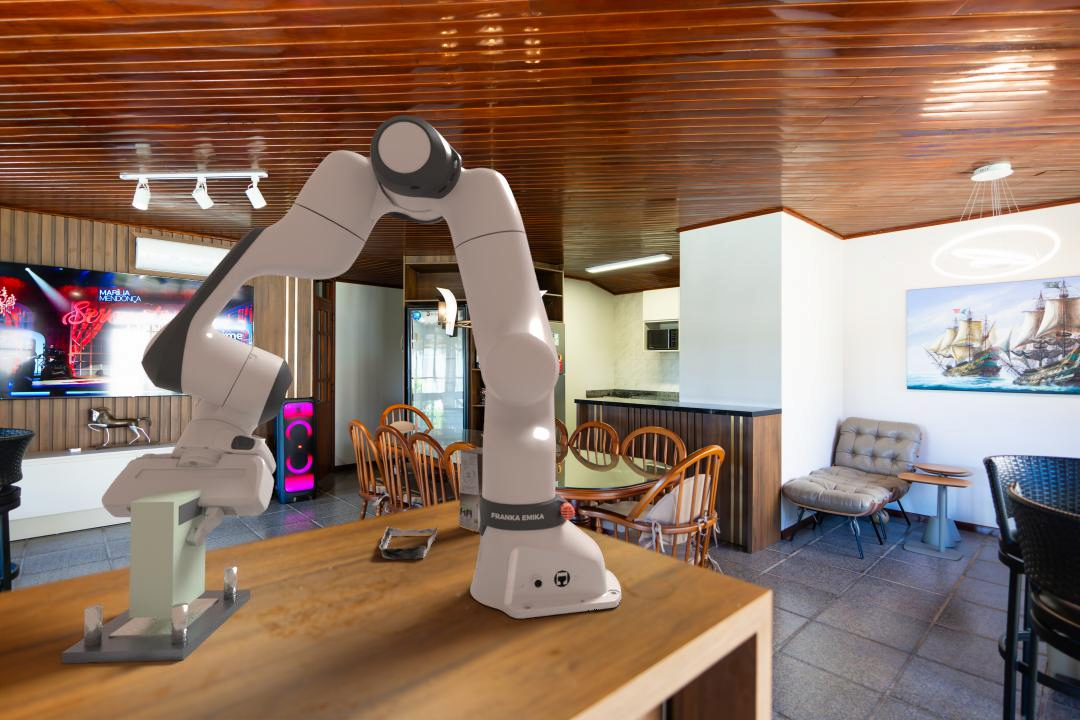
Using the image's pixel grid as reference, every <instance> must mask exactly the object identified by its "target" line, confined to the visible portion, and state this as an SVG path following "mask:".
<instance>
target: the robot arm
mask: <svg viewBox="0 0 1080 720" xmlns="http://www.w3.org/2000/svg"><path fill="white" fill-rule="evenodd" d="M462 161H463V160H462V157H461V155H460V154H459V153H458V152H457V151H456V150H455V149H454V148H453V147H452V146H451V145H450V143H448V141H447V139H445V138H444V137H443V135H441V133H440V132H439V131H438V130H437V129H436V128H435V127H433V125H431V124H430V123H429V122H428V121H425V120H424V119H422V118H421V117H417V116H415V115H411V114H399V115H395V116H393V117H390V118H388V119H386V120H384V121H383V122H382V123H381V124H380V125H379V126H378V127H377V128H376V129H375V131H374V133H373V136H372V138H371V142H370V145H369V157H365V156H363V155H362V154H359V153H357V152H354V151H351V150H343V149H342V150H341V149H340V150H335V151H331V152H330V153H329V154H328V155H327V156H325V157H324V159H323V160H322V161H321V162H320V163H319V165H318V166H317V167H316V169H314V171H313V172H312V174H311V175H310V176H309V178H308V179H307V180H306V182H305V184H304V185H303V187H302V188H301V190H300V192H299V193H298V194H297V197H296V199H295V201H294V202H293V204H292V206H291V208H290V209H289V211H288V212H287V213H286V214H285V215H284V216H283V217H282V218H281V219H279V220H278V221H277V222H275V223H274V224H271V225H269V226H267V227H266V226H255V227H254V228H252V229H250V230H248V231H247V232H246V233H245V234H244V235H243V236H242V237H241V238H240V239H239V240H238V241H237V242H236V243H235V245H234V246H233V247H232V248H231V249H230V250H229V251H228V252H227V253H226V255H225V256H224V257H223V259H221V261H220V262H219V263H218V264H217V266H215V268H214V269H213V270H212V272H211V273H210V274H209V275H208V276H207V277H206V278H205V280H204V281H203V282H202V283H201V285H200V286H199V287H198V288H197V290H195V292H194V293H193V294H192V295H191V297H190V298H189V299H188V300H187V302H186V303H185V304H184V306H183V307H182V308H181V309H180V310H179V312H177V313H176V315H175V316H174V317H173V318H172V319H171V320H169V322H167V323H166V324H165V325H164V326H162V328H160V329H159V330H158V331H157V332H156V333H155V334H154V335H153V336H152V338H151V339H150V340H149V342H148V344H147V345H146V347H145V349H144V352H143V355H142V359H141V366H142V368H143V370H144V373H145V374H146V376H147V377H148V379H149V380H150V382H151V383H152V384H153V385H154V387H156V388H157V389H158V388H159V389H163V390H166V391H170V392H174V393H177V394H181V395H183V394H184V395H185V394H186V395H188V396H191V397H194V398H196V399H199V400H200V401H199V403H198V404H197V408H196V413H195V416H194V417H193V418H192V419H191V420H190V421H189V422H188V423H187V424H186V426H185V428H184V430H183V432H182V434H181V435H180V437H179V439H178V441H177V443H176V444H175V446H174V448H173V450H172V452H171V453H151V452H150V453H144V454H143V455H142V456H139V457H136V458H134V459H131V460H130V461H129V462H128V463H127V465H126V466H125V467H124V469H122V471H120V473H118V475H117V476H116V477H115V479H114V480H113V481H112V483H111V484H110V485H109V487H108V488H107V489H106V491H105V492H104V494H103V495H102V497H101V503H102V506H103V507H104V509H105V510H106V511H107V512H108V513H109V514H110V515H111V516H113V517H114V518H131V502H132V501H135V500H138V499H140V498H143V497H146V496H148V495H151V494H154V493H157V492H159V491H162V490H170V489H203V491H202V494H201V496H200V499H199V502H198V506H199V507H201V506H204V508H205V509H206V513H205V515H206V519H205V520H204V521H203V522H202V523H201V524H200V525H199V526H198V527H197V528H190V529H189V532H188V535H187V536H186V538H185V542H186V543H187V544H188V545H189V546H202V545H203V542H204V540H205V541H206V538H207V535H209V534H210V533H211V532H212V531H214V529H216V528H218V526H219V525H220V524H222V522H223V519H224V517H259V516H260V515H261V514H263V513H264V512H265V511H266V510H267V509H268V507H269V505H270V501H271V498H272V494H273V489H274V483H275V479H274V477H273V474H274V473H275V471H276V468H277V464H276V461H275V458H274V456H273V453H272V452H271V450H270V448H269V446H267V443H265V441H264V440H263V439H260V438H258V437H254V436H252V434H253V432H254V431H255V430H256V429H257V428H258V426H261V425H263V424H265V423H267V422H269V421H271V420H272V419H274V418H276V417H277V416H278V415H279V414H280V411H281V410H282V408H283V406H284V402H285V399H286V396H287V392H288V390H289V389H290V386H291V385H292V382H293V380H294V377H293V373H292V370H291V368H290V366H289V363H288V362H287V360H286V359H284V358H282V357H280V356H279V355H276V354H274V353H271V352H269V351H267V350H264V349H262V348H260V347H257V346H255V345H254V346H253V345H250V344H247V343H245V342H243V341H241V340H238V339H236V338H233V337H232V336H229V335H226V334H224V333H222V332H220V331H217V330H216V329H215V328H214V327H213V322H214V321H215V319H216V318H217V317H218V316H219V314H220V313H222V310H224V308H225V307H226V306H227V304H229V302H230V301H231V299H232V298H233V297H234V296H235V294H236V293H237V292H238V291H239V290H240V288H242V287H243V285H244V284H245V283H247V282H248V281H249V280H251V279H253V278H256V277H261V276H281V277H289V278H290V277H291V278H296V279H305V280H328V279H332V278H336V277H338V276H341V275H343V274H344V273H346V272H347V271H348V270H349V269H350V268H351V267H352V266H353V264H354V263H355V262H356V260H357V258H358V257H359V255H360V254H361V252H362V249H363V248H364V247H365V244H366V242H367V241H368V238H369V236H370V234H371V233H372V230H373V229H374V227H375V225H376V223H377V222H378V220H379V219H380V218H381V217H382V216H384V215H386V214H387V215H388V216H390V217H391V218H393V219H398V220H402V221H409V222H413V223H417V224H422V225H423V224H425V225H428V224H429V225H430V224H437V223H439V222H442V221H444V220H445V221H446V223H447V226H448V229H449V231H450V235H451V240H452V244H453V249H454V253H455V256H456V262H457V264H458V269H459V273H460V276H461V277H460V279H461V282H462V286H463V290H464V293H465V294H464V295H465V300H466V304H467V308H468V315H469V320H470V325H471V330H472V336H473V340H474V345H475V350H476V354H477V359H478V363H479V364H478V365H479V369H480V372H481V379H482V381H483V383H484V386H485V392H484V393H485V400H484V416H483V417H484V418H483V419H484V423H483V437H482V438H483V439H482V448H483V483H482V494H481V495H480V500H479V505H478V529H479V533H478V534H479V535H480V538H479V544H478V545H479V546H478V553H477V559H476V567H475V571H474V574H473V578H472V580H471V584H470V587H469V592H470V595H471V596H472V597H473V599H474V600H475V601H477V602H479V603H481V604H483V605H484V606H487V607H490V608H494V609H496V610H497V609H498V610H500V611H502V612H504V613H505V614H507V615H508V616H509V617H511V618H514V619H527V618H528V619H529V618H535V617H545V616H553V615H562V614H569V613H570V614H572V613H579V612H587V611H588V610H589V611H595V610H596V609H597V610H604V609H611V608H616V607H618V606H619V604H620V603H621V601H622V588H621V585H620V581H619V580H618V578H617V577H616V575H614V573H613V572H612V571H610V570H609V569H607V568H606V563H605V558H604V555H603V553H602V550H601V548H600V547H599V544H597V543H596V541H595V540H594V539H593V538H592V537H591V536H590V535H588V534H586V533H585V532H584V531H583V530H581V529H580V528H579V526H578V527H577V525H575V524H574V523H572V522H571V521H570V520H572V519H573V518H574V517H575V514H576V511H575V508H574V506H573V505H572V504H571V503H570V502H569V501H568V500H567V499H565V497H564V496H563V495H559V494H557V493H556V472H557V471H556V469H557V468H556V467H557V466H556V460H557V459H556V458H557V455H556V454H557V449H556V448H557V446H556V444H557V442H556V441H557V439H556V420H555V419H556V418H555V417H556V416H555V415H556V414H555V387H556V385H557V383H558V379H559V376H560V371H561V370H560V359H559V354H558V352H557V351H558V350H557V348H556V344H555V339H554V336H553V332H552V330H551V329H552V328H551V326H550V322H549V321H550V320H549V319H548V315H547V311H546V308H545V305H544V301H543V298H542V294H541V291H540V287H539V282H538V280H537V279H538V278H537V275H536V272H535V267H534V263H533V259H532V254H531V251H530V250H531V249H530V246H529V242H528V237H527V233H526V229H525V226H524V223H523V219H522V215H521V213H520V212H521V211H520V210H519V207H518V203H517V202H516V198H515V197H514V194H513V192H512V189H511V187H510V185H509V183H508V181H507V179H506V178H505V177H504V175H503V174H501V173H500V172H498V170H497V171H496V170H495V169H492V168H485V167H478V168H477V167H476V168H470V169H466V168H464V167H463V166H462V164H463V163H462ZM620 600H621V601H620ZM619 602H620V603H619ZM594 609H595V610H594ZM589 611H588V612H589Z"/></svg>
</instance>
